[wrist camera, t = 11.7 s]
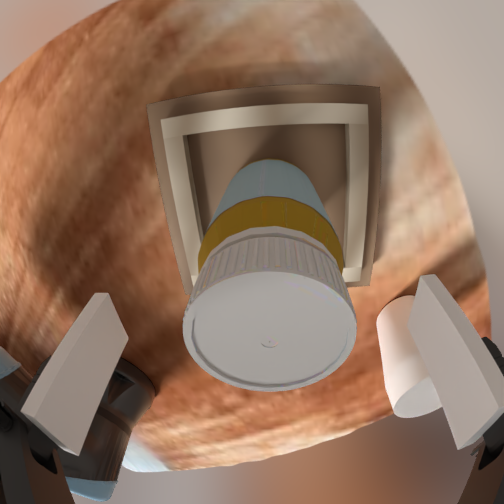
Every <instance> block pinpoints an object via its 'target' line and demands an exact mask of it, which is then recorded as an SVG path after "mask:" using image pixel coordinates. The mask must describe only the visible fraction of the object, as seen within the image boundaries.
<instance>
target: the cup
mask: <svg viewBox="0 0 504 504" xmlns="http://www.w3.org/2000/svg"><path fill="white" fill-rule="evenodd" d="M414 299H415V296H412V295H408V296H402V297H399V298H397V299H395V300H393V301H391V302H390V303H389V304H387V305H386V306H385V307H384V308H383V309H382V311H381V312H380V314H379V316H378V318H377V323H376V325H377V331H378V337H379V343H380V350H381V357H382V364H383V372H384V380H385V387H386V391H387V394H388V396H389V399H390V402H391V405H392V408H393V411H394V413H395V415H397V416H398V417H402V418H412V417H417V416H421V415H424V414H427V413H430V412H432V411H434V410H437V409H438V408H440V407H442V404H441V402H440V399H439V396H438V394H437V392H436V389H435V387H434V384H433V382H432V380H431V377H430V375H429V373H428V370H427V368H426V366H425V363H424V361H423V359H422V357H421V355H420V352H419V350H418V348H417V346H416V344H415V342H414V340H413V338H412V336H411V334H410V332H409V330H408V328H407V323H408V319H409V316H410V313H411V309H412V306H413V302H414Z"/></svg>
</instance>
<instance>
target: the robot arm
mask: <svg viewBox="0 0 504 504" xmlns="http://www.w3.org/2000/svg"><path fill="white" fill-rule="evenodd" d="M407 328H408V330H409V332H410V334H411V336H412V338H413V340H414V342H415V344H416V346H417V348H418V350H419V352H420V355H421V357H422V359H423V361H424V363H425V366H426V368H427V370H428V373H429V375H430V377H431V380H432V382H433V384H434V387H435V389H436V392H437V394H438V396H439V399H440V402H441V404H442V407H443V409H444V412H445V415H446V417H447V420H448V423H449V426H450V428H451V431H452V434H453V437H454V440H455V443H456V446H457V449H458V450H459V449H461V448H464V447H466V446H468V445H470V444H472V443H474V442H475V441H476V440H477V439H479V438H480V437H481V436H482V435H483V437H484V441H483V442H482V443H480V444H479V445H478V446H477V447H476V448H475V449H474V450H473V451H472V453H471V455H474V454H475V453H476V452H477V451H479V452H478V454H477V455H476V457H477V458H476V461H475V464H474V466H473V469H472V472H471V474H470V477H469V479H468V482H467V484H466V486H465V489H464V491H463V493H462V496H461V498H460V500H459V502H458V504H504V358H503V357H502V354H501V352H500V351H499V349H498V348H497V346H496V345H495V344H494V343H493V342H492V341H491V340H490V339H488V338H487V337H484V338H480V336H479V334H478V333H477V331H476V330H475V328H474V327H473V325H472V324H471V322H470V321H469V319H468V318H467V317H466V315H465V314H464V312H463V311H462V309H461V308H460V307H459V305H458V304H457V302H456V301H455V300H454V298H453V297H452V296H451V294H450V293H449V292H448V290H447V289H446V288H445V286H444V285H443V284H442V282H441V281H440V280H439V279H438V277H437V276H436V275H435V274H431V275H422V276H420V279H419V283H418V287H417V291H416V295H415V299H414V302H413V306H412V309H411V313H410V316H409V319H408V323H407ZM128 339H129V338H128V336H127V334H126V331H125V329H124V327H123V325H122V323H121V321H120V319H119V316H118V314H117V312H116V310H115V307H114V305H113V303H112V300H111V298H110V296H109V293H95V294H94V295H93V296H92V298H91V299H90V301H89V302H88V303H87V305H86V306H85V308H84V309H83V310H82V312H81V313H80V315H79V316H78V317H77V319H76V320H75V322H74V323H73V325H72V326H71V328H70V329H69V331H68V332H67V334H66V335H65V337H64V338H63V340H62V341H61V343H60V344H59V346H58V347H57V349H56V351H55V352H54V354H53V355H52V356H49V357H48V358H47V359H46V360H45V361H44V362H43V363H42V364H41V366H40V367H39V369H38V371H37V372H36V375H35V376H34V377H32V376H31V375H30V374H29V373H28V372H27V371H26V370H25V369H24V368H23V367H22V366H21V365H22V364H21V363H20V362H17V361H16V360H15V359H14V358H13V357H12V356H11V355H10V354H9V353H8V352H7V351H6V350H5V349H4V348H2V347H1V346H0V504H75V502H74V500H73V497H72V494H71V492H72V493H75V494H77V495H80V496H83V497H86V498H89V499H92V500H96V501H101V502H102V501H107V500H109V499H110V497H111V495H112V493H113V490H114V488H115V485H116V484H117V482H118V480H117V479H118V475H119V471H120V468H121V465H122V461H123V458H124V455H125V451H126V448H127V445H128V441H129V438H130V435H131V432H132V429H133V428H134V426H135V425H136V424H137V423H138V422H139V420H140V419H141V418H142V417H143V415H144V414H145V413H146V411H147V410H148V409H149V408H150V407H151V405H152V402H153V399H154V396H155V389H154V386H153V384H152V383H151V381H150V380H149V379H148V378H147V376H146V375H145V374H144V373H142V372H141V371H140V370H139V369H138V368H136V367H135V366H134V365H132V364H131V363H129V362H127V361H126V360H124V359H122V358H120V356H121V354H122V352H123V350H124V348H125V345H126V343H127V341H128Z"/></svg>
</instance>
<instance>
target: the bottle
mask: <svg viewBox="0 0 504 504" xmlns="http://www.w3.org/2000/svg"><path fill="white" fill-rule="evenodd" d="M343 266H344V263H343V255H342V248H341V245H340V242H339V239H338V236H337V234H336V232H335V230H334V228H333V225H332V223H331V221H330V219H329V217H328V215H327V213H326V211H325V209H324V206H323V204H322V202H321V200H320V198H319V196H318V194H317V192H316V190H315V188H314V186H313V185H312V183H311V181H310V180H309V178H308V177H307V175H306V174H305V173H304V172H303V171H302V170H301V169H299V168H298V167H297V166H296V165H294V164H292V163H289V162H287V161H284V160H281V159H271V158H267V159H261V160H257V161H253V162H251V163H249V164H248V165H246V166H244V167H243V168H241V169H240V170H239V171H238V172H237V173H236V175H235V176H234V177H233V178H232V180H231V181H230V183H229V185H228V187H227V189H226V191H225V193H224V195H223V197H222V199H221V201H220V203H219V205H218V207H217V209H216V211H215V213H214V216H213V218H212V220H211V222H210V224H209V226H208V228H207V230H206V233H205V235H204V238H203V241H202V244H201V247H200V250H199V253H198V273H199V276H198V278H197V281H196V283H195V285H194V288H193V291H192V293H191V296H190V299H189V301H188V304H187V307H186V310H185V314H184V317H183V321H184V322H183V337H184V341H185V345H186V347H187V349H188V351H189V353H190V355H191V356H192V358H193V359H194V360H195V361H196V363H197V364H198V365H199V366H200V367H201V368H203V369H204V370H205V371H206V372H208V373H209V374H210V375H212V376H213V377H215V378H217V379H219V380H221V381H223V382H225V383H228V384H230V385H233V386H236V387H240V388H244V389H248V390H255V391H285V390H292V389H296V388H300V387H304V386H307V385H310V384H312V383H315V382H317V381H319V380H321V379H323V378H325V377H326V376H328V375H329V374H331V373H332V372H334V371H335V370H336V369H337V368H338V367H339V366H340V365H341V364H342V363H343V362H344V361H345V360H346V358H347V357H348V356H349V354H350V352H351V350H352V348H353V346H354V343H355V339H356V332H357V326H356V323H357V319H356V314H355V311H354V308H353V305H352V302H351V299H350V296H349V293H348V290H347V287H346V284H345V281H344V279H343V276H342V273H343Z"/></svg>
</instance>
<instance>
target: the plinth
mask: <svg viewBox="0 0 504 504" xmlns="http://www.w3.org/2000/svg"><path fill="white" fill-rule="evenodd" d="M146 106H147V114H148V121H149V127H150V134H151V140H152V146H153V152H154V158H155V163H156V169H157V174H158V179H159V184H160V190H161V194H162V199H163V204H164V209H165V213H166V218H167V222H168V227H169V231H170V236H171V240H172V244H173V248H174V252H175V256H176V260H177V264H178V268H179V272H180V276H181V280H182V283H183V287H184V291H185V294H186V295H191V293H192V291H193V288H194V285H195V283H196V281H197V278H198V276H199V273H198V253H199V250H200V247H201V244H202V241H203V238H204V235H205V233H206V230H207V228H208V226H209V224H210V222H211V220H212V218H213V216H214V213H215V211H216V209H217V207H218V205H219V203H220V201H221V199H222V197H223V195H224V193H225V191H226V189H227V187H228V185H229V183H230V181H231V180H232V178H233V177H234V176H235V175H236V173H237V172H238V171H239V170H240V169H241V168H243V167H244V166H246V165H248V164H249V163H251V162H253V161H257V160H261V159H267V158H271V159H281V160H284V161H287V162H289V163H292V164H294V165H296V166H297V167H298V168H299V169H301V170H302V171H303V172H304V173H305V174H306V175H307V177H308V178H309V180H310V181H311V183H312V185H313V186H314V188H315V190H316V192H317V194H318V196H319V198H320V200H321V202H322V204H323V206H324V209H325V211H326V213H327V215H328V217H329V219H330V221H331V223H332V225H333V228H334V230H335V232H336V234H337V236H338V239H339V242H340V245H341V248H342V255H343V263H344V266H343V273H342V276H343V279H344V281H345V284H346V287H359V286H370V280H371V273H372V266H373V259H374V251H375V242H376V233H377V223H378V211H379V197H380V179H381V101H380V87H373V86H359V85H338V84H295V85H273V86H259V87H248V88H238V89H229V90H222V91H214V92H208V93H201V94H195V95H190V96H184V97H179V98H174V99H169V100H164V101H160V102H155V103H151V104H147V105H146Z"/></svg>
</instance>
